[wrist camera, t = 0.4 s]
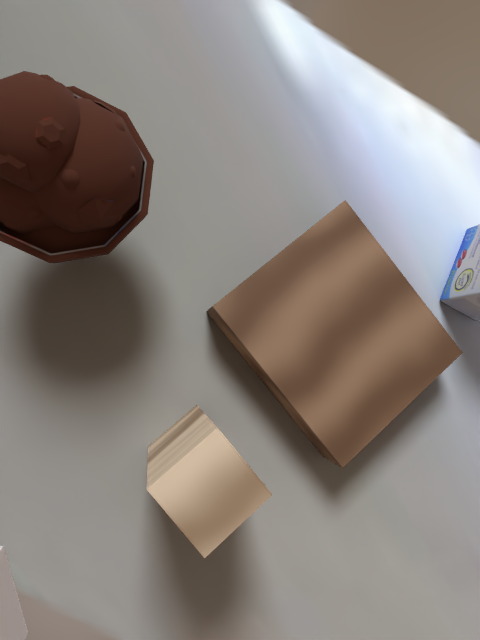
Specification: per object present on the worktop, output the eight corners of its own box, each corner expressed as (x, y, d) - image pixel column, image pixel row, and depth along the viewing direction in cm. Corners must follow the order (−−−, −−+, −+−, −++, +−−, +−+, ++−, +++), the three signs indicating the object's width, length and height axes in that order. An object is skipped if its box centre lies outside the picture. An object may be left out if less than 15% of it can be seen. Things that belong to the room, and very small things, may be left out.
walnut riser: (206, 311, 38) (212, 306, 34) (326, 215, 41) (345, 200, 37) (323, 456, 39) (342, 468, 35) (433, 352, 42) (462, 352, 38)
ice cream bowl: (4, 278, 35) (-101, 222, 21) (24, 141, 36) (-62, -5, 22) (143, 294, 37) (137, 254, 22) (158, 164, 38) (162, 44, 24)
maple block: (148, 446, 36) (146, 489, 25) (196, 405, 37) (217, 427, 26) (187, 493, 37) (204, 558, 25) (234, 451, 38) (272, 494, 26)
